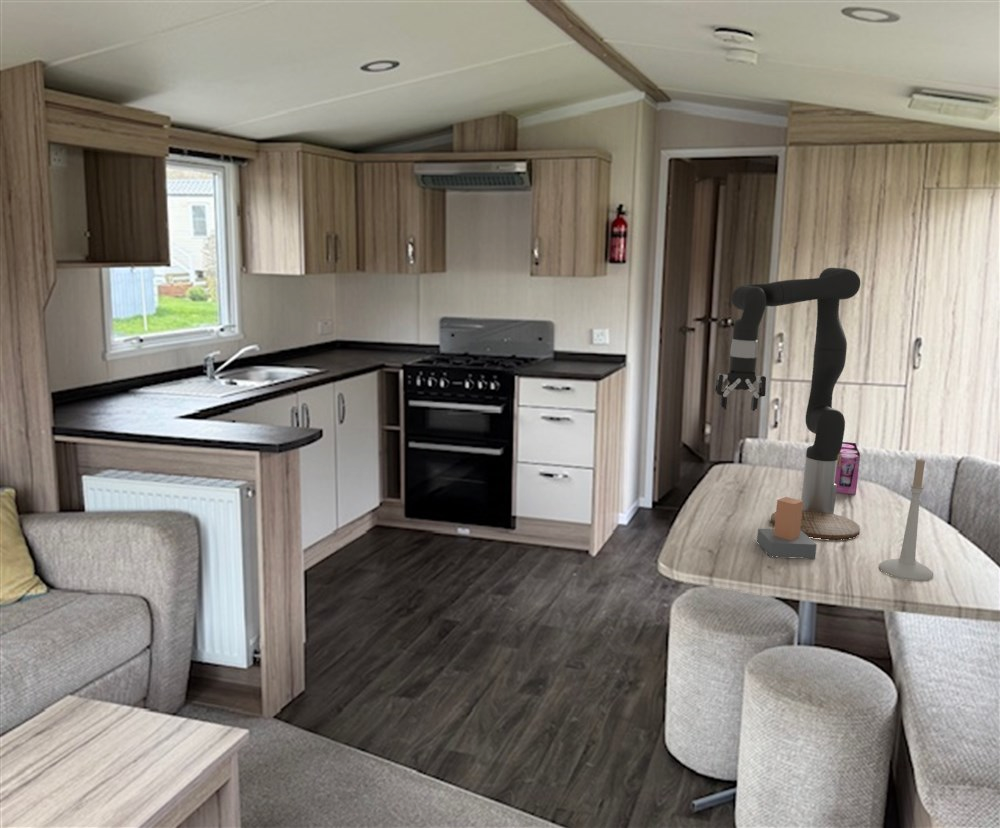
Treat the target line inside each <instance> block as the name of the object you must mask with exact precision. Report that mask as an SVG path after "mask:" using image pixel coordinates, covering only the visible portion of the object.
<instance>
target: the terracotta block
mask: <svg viewBox="0 0 1000 828" xmlns="http://www.w3.org/2000/svg"><path fill="white" fill-rule="evenodd" d="M775 509H776V510H775V512H776V517H775V527H774V526H773V529H774V536H776V537H780V538H783V539H787V540H793V539H795V538H798V537H800V527H801V518H802V509H803V501H801V500H800V499H796V498H792V497H787V496H784V497H782V498H779V499H777V500H776V508H775Z"/></svg>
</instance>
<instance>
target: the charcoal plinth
mask: <svg viewBox="0 0 1000 828" xmlns="http://www.w3.org/2000/svg"><path fill="white" fill-rule="evenodd" d="M757 542H758V543H759V544H760V545H759V544H758V543H757ZM756 543H757V544H758V545H759V547H760V546H761V547H762V548H763V549H764V550H765V551H766V552H767V553H766V552H765V551H764V550H763V549H762V548H761V547H760V548H761V549H762V550H763V551H764V552H765V553H766V554H768V555H769V556H770V557H769V556H768V555H767V556H768V557H769V558H777V557H776V556H778V557H803V558H815V559H816V554H817V545H818V544H817V543H816V542H815V541H814V540H813V539H812V538H809V537H808V536H807V535H806V534H805V533H804V532H803V531H802V530H800V537H798V538H795V539H793V540H787V539H783V538H780V537H776V536H774V528H758V529H757V539H756ZM772 556H773V557H772ZM803 558H802V559H803Z"/></svg>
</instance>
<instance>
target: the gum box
mask: <svg viewBox="0 0 1000 828" xmlns="http://www.w3.org/2000/svg"><path fill="white" fill-rule="evenodd" d="M860 460H861V452H860V451H859V449H858V446H857V443H856V442H848V441H847V442H846V441H843V442H842V448H841V451H840V453H839V454H838V458H837V466H836V475H835V484H836V485H837V489H836V493H839V494H848V495H857V490H858V479H859V471H860Z"/></svg>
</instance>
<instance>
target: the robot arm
mask: <svg viewBox="0 0 1000 828" xmlns="http://www.w3.org/2000/svg"><path fill="white" fill-rule="evenodd" d="M860 287H861V277H860V276H859V274H858V272H856V271H855V270H853V269H851V268H846V267H845V268H844V267H828V268H825V269H823V270H822V272H821V273H820V274H819V276H818V277H816V278H814V277H813V278H798V279H796V278H795V279H786V280H778V281H772V282H768V283H758V284H746V285H745V284H744V285H740V286H738V287H736V289H734V291H733V292H732V293H731V304H732V305H733V306H734V307H735V308H737V309H738V310H741V311H742V315H741V317H740V318H738V319H736V320H735V321H734V324H733V331H732V333H733V334H732V340H731V341H732V342H731V346H730V351H729V353H730V355H729V365H728V373H727V374H724V373H720V372H719V373H717V377H716V383H715V388H714V392H715V394H717V395H719V396H720V404H719V405H720V407H721V408H722V409H723V410H727V406H728V395H729V394H730V393H732V391H733V390H737V391H739V390H743V391H747V390H748V391H749V392H750V394H751V395H752V397H751V403H750V410H751V411H752V412H756V409H757V410H758V406H759V405H758V404H759V399H760V398H761V397H765V396H766V389H767V388H766V385H767V377H766V376H765V375H762V374H761V375H756V370H757V359H758V340H759V339H758V337H759V327H760V324H761V321H762V318H763V316H764V314H765V310H766V307H779V306H780V307H781V306H785V305H790V304H795V303H802V302H807V301H813V300H814V301H815V300H816V303H817V304H816V305H817V307H816V309H817V310H816V311H817V313H816V315H817V316H816V328H815V329H816V331H815V339H814V351H813V364H812V366H813V367H812V373H811V374H812V375H811V383H810V392H809V397H808V402H807V407H806V411H805V425H806V428H807V429H808V431H810V432H811V433H812V434H815V436H814V441H813V444H812V445H811V446H807V448H806V452H805V460H804V461H805V462H804V472H803V481H802V489H801V498H800V499H801V501H803V509H802V510H814V511H821V512H826V513H831V514H835V513H834V512H835V504H836V496H837V495H836V493H837V492H836V489H837V485H836V484H835V475H836V466H837V458H838V454H839V453H840V451H841V448H842V442H844V437H845V429H846V420H845V419H846V418H845V416H844V414H843V413H842V412H841V411H840V410H838V409H835V408H833V393H834V389H835V387H836V383H837V382H838V380H839V378H840V376H841V374H842V373H843V371H844V368H845V366H846V358H847V349H848V347H847V346H848V343H847V337H846V333H845V331H844V329H843V325H842V323H841V320H840V319H841V318H840V313H839V311H840V310H839V309H840V300H848V299H850V298H853V297H855V295H857V294H858V292H859V290H860ZM726 380H727V381H728V384H726V386H725V387H724V389H723V390H722V388H723V383H725V381H726ZM756 381H757V383H758V391H757V389H756V388H755V386H754V385H753V384H754V383H755V382H756Z"/></svg>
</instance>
